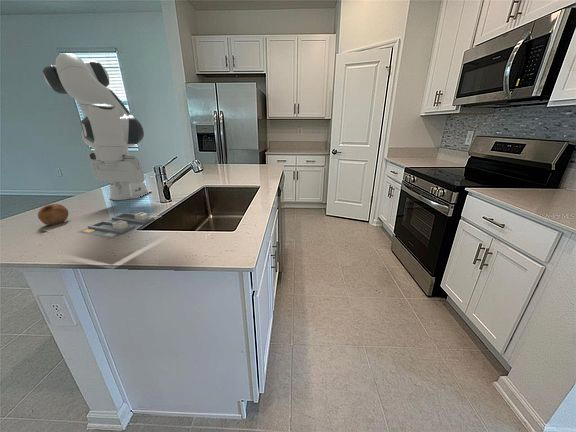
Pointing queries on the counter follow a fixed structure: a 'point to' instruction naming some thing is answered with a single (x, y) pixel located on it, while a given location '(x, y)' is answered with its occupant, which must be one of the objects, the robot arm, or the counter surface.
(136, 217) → the tab
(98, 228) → the switch bank
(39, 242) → the counter surface
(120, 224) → the tab
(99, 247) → the counter surface
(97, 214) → the counter surface
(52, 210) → the onion
